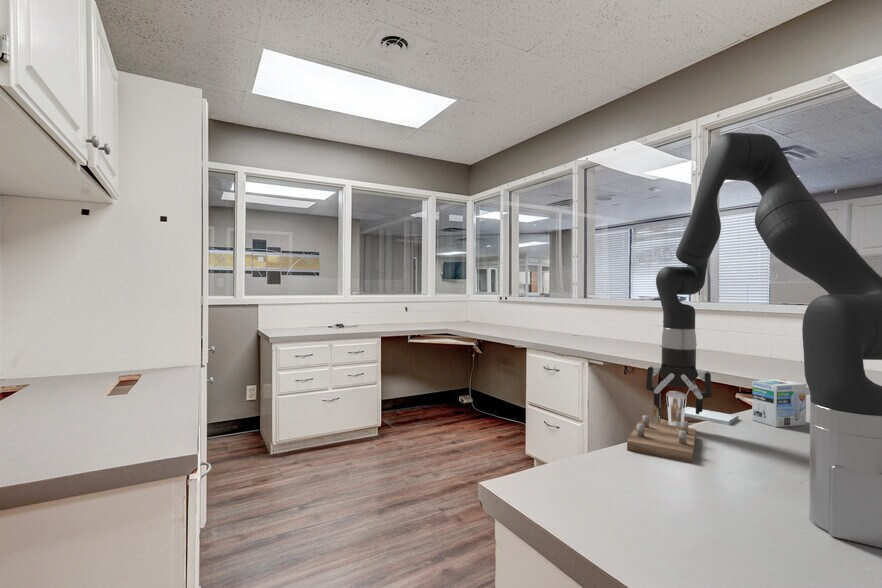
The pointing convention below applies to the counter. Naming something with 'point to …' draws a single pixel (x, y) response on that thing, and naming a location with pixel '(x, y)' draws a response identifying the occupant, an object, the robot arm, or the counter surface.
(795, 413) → the light bulb box
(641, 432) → the peg plinth
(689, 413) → the hard drive
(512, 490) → the counter surface
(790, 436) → the counter surface
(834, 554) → the counter surface
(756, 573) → the counter surface
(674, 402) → the milkshake
